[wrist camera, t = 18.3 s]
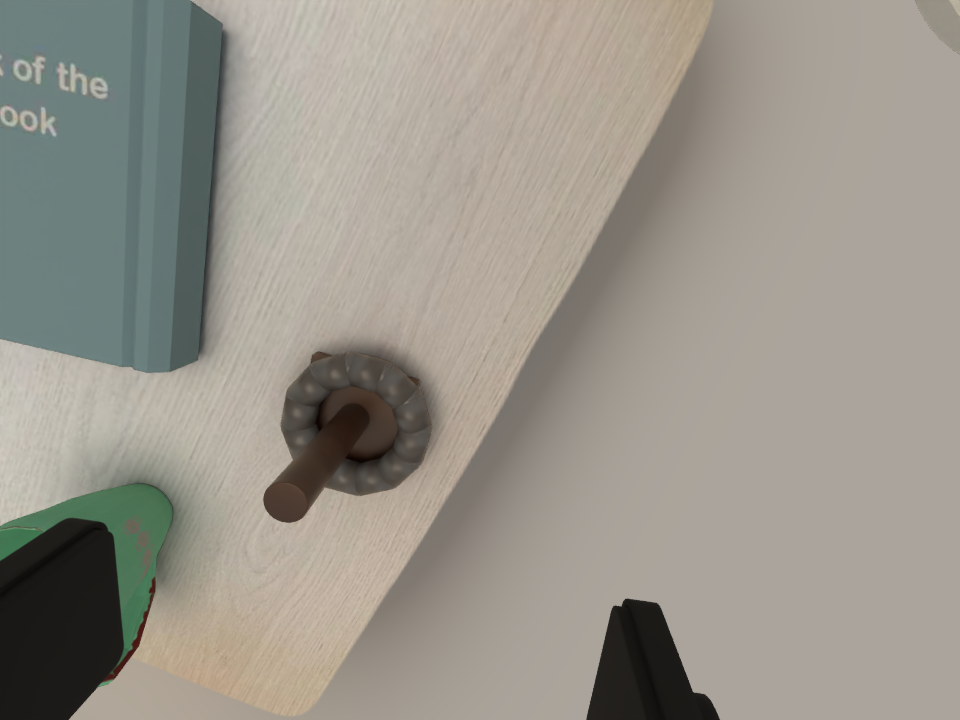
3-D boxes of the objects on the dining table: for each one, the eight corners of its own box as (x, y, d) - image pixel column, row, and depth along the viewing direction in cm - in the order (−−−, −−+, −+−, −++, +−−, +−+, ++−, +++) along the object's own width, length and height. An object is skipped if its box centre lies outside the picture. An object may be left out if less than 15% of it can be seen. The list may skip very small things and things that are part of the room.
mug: (74, 458, 41) (-59, 529, 32) (187, 453, 40) (87, 523, 31) (120, 607, 45) (13, 711, 35) (224, 604, 44) (145, 709, 35)
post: (317, 351, 38) (220, 413, 25) (419, 379, 38) (375, 456, 25) (300, 444, 40) (202, 546, 27) (396, 471, 40) (344, 584, 27)
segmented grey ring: (303, 333, 36) (289, 340, 34) (447, 372, 36) (443, 382, 34) (280, 463, 39) (266, 478, 37) (413, 499, 39) (407, 516, 37)
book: (-13, -28, 32) (-104, -73, 27) (230, 29, 32) (181, -6, 28) (0, 310, 38) (-74, 321, 33) (204, 357, 38) (160, 375, 33)
